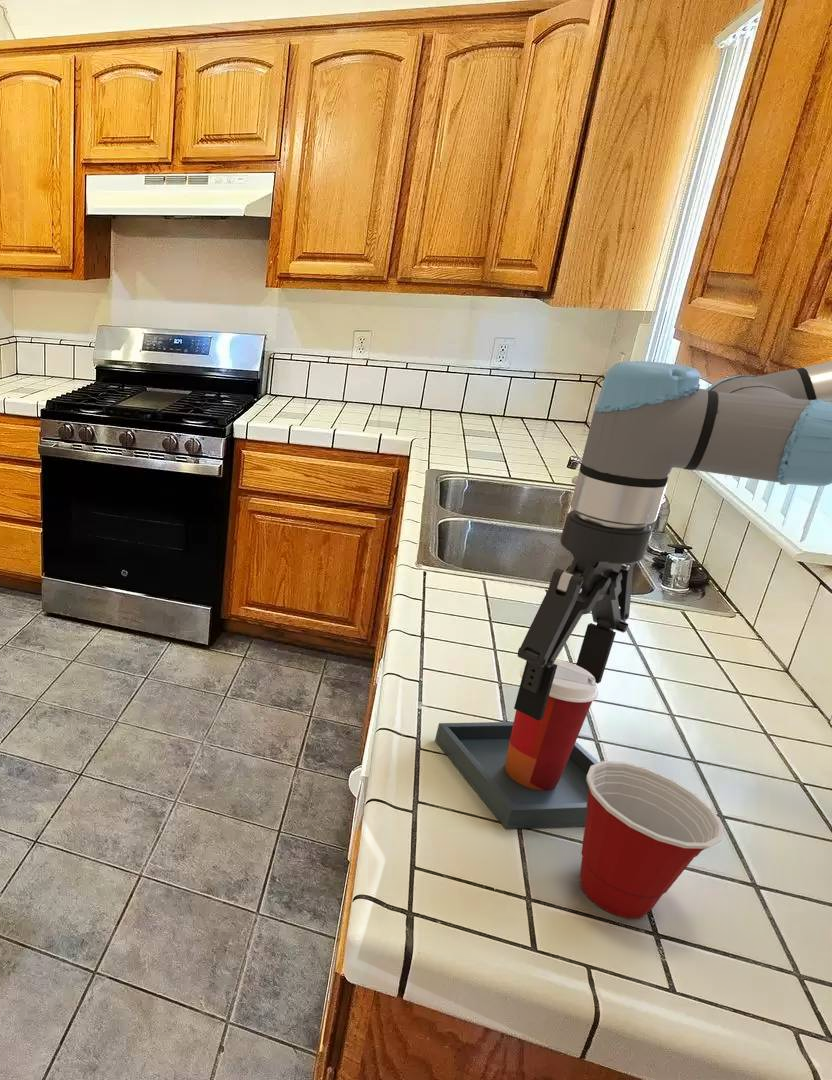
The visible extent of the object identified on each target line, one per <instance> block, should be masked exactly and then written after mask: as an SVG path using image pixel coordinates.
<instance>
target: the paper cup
mask: <svg viewBox="0 0 832 1080" xmlns="http://www.w3.org/2000/svg"><path fill="white" fill-rule="evenodd" d="M554 664H555V665H557V669H556V672H555V676H554V680H553V683H552V687H551V690H550V694H549V697H548V701H547V704H546V708H545V711H544V715H543V719H541V720H539V721H538V720H536V719H534V718H532V717H530V716H528V715H526V714H524V713H522V712H520V711H518V710H516V709H515V713H514V714H515V715H514V718H513V722H514V723H513V728H512V733H511V737H510V742H509V747H508V752H507V758H506V764H505V770H506V772H507V774H508V775H509V776H510V777H511V778H512V779H513V780H515V781H516V782H518V783H519V784H521V785H523V786H525V787H528V788H531V789H535V790H541V791H547V790H552V789H554V788H555V787H556V786H557V784H558V782H559V780H560V777H561V775H562V773H563V771H564V768H565V766H566V764H567V761H568V759H569V756H570V754H571V752H572V749H573V747H574V745H575V742H577V740H578V737H579V735H580V732H581V730H582V727H583V725H584V723H585V720H586V718H587V715H588V713H589V710H590V709H591V706H592V704H593V701H595V700H597V699H598V698H599V695H600V694H599V689H598V687H597V683H595V681H596V680H595V677H594V676H593V675H592V674H591V673H589V672H588V671H587V670H585V669H583V668H581V667H580V666H577V665H576V663H572V662H570V661H567V660H563V659H558V658H556V660H555V662H554ZM524 669H525V666H524V667H522V668H521V669H519V677H520V678H521V679H522V676H523V672H524Z"/></svg>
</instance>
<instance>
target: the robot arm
mask: <svg viewBox="0 0 832 1080" xmlns="http://www.w3.org/2000/svg"><path fill="white" fill-rule="evenodd" d="M700 376H701V374H700V371H699V370H698V369H697V368H694V367H691V366H687V365H681V364H676V363H667V362H660V361H659V362H658V361H647V360H646V361H645V360H644V361H643V360H627V361H626V360H624V361H620V362H617V363H615V364H613V365H612V366H611V367H610V368H608V370H607V371H606V373H605V376H604V379H603V382H602V385H601V387H600V392H599V393H598V398H597V401H596V404H595V405H594V409H593V414H592V418H591V421H590V425H589V429H588V434H587V437H586V442H585V446H584V449H583V454H582V457H581V461H580V466H579V470H578V472H577V473H578V474H577V475H574V476H573V477H572V479H571V483H572V484H573V485H574V489H573V493H572V496H571V500H570V507H571V508H572V510H571V511H569V512H568V513H567V514H566V516H565V521H564V524H563V528H562V532H561V535H560V541H559V542H560V545H561V546H562V548H563V549H565V551H568V552H569V553H570V554H571V555H572V557H573V560H572V561H571V564H570V565H569V566H568V567H567V569H566V570H565V569H564V570H563V569H560V568H556V569H554V571H553V572H552V575H551V578H550V582H549V585H548V588H547V590H546V592H545V595H544V597H543V599H542V601H541V603H540V606H539V608H538V610H537V612H536V614H535V616H534V618H533V620H532V622H531V624H530V627H529V628H528V631H527V632H526V635H525V637H524V639H523V641H522V643H521V645H520V647H518V650H517V657H518V658H520V659H522V660H524V661H526V662H525V664H524V667H525V669H524V672H523V676H522V678H521V681H520V684H519V688H518V692H517V695H516V698H515V699H516V700H515V703H514V706H513V709H514V710H515V711H516V710H518V711H520V712H522V713H524V714H526V715H528V716H530V717H532V718H534V719H536V720H538V721H539V720H541V719H543V715H544V711H545V708H546V704H547V701H548V697H549V694H550V690H551V687H552V683H553V680H554V676H555V672H556V669H557V665H555V664H554V662H555V660H556V659H558V657H559V655H560V653H561V652H562V650H563V648H564V646H565V645H566V643H567V642H568V640H569V638H570V637H571V635H572V633H573V632H574V630H575V628H576V626H577V625H578V623H579V622H580V620H581V618H582V616H585V615H589V614H590V613H591V616H592V621H593V623H592V622H590V623H588V624H587V626H586V630H585V633H584V636H583V640H582V643H581V645H580V646H581V647H580V650H579V654H578V657H577V660H576V663H575V665H577V666H580V667H581V668H583V669H585V670H587V671H588V672H589V673H591V674H592V675H593V676H594V677H595V680H596V681H595V683H596V685H597V684H601V682H602V679H603V676H604V673H605V669H606V666H607V663H608V660H609V656H610V653H611V650H612V647H613V643H614V640H615V637H616V634H617V632H620V633H623V634H625V633H626V632H627V630H628V627H629V623H627V620H628V619H629V618H630V611H631V610H630V609H631V600H632V599H631V598H632V586H633V575H634V574H633V573H634V567H635V564H637V563H639V562H641V561H642V560H643V559H644V558H645V555H646V552H647V548H648V545H649V542H650V539H651V537H652V533H653V529H652V528H651V525H650V524H653V523H654V522H656V521H657V518H658V515H659V512H660V508H661V505H662V501H663V498H664V494H665V492H666V488H667V485H668V481H669V477H670V474H671V472H672V469H673V468H676V469H682V470H687V471H697V472H698V471H699V472H705V473H711V474H717V475H726V476H731V477H732V476H733V477H739V478H744V479H745V478H747V479H753V480H758V481H766V482H772V483H778V484H779V485H782V486H787V485H797V486H798V485H799V486H810V487H826V486H829V485H831V484H832V360H829V361H824V362H819V363H814V364H811V365H810V364H809V365H806V366H802V367H798V368H793V369H787V370H782V371H777V372H773V373H768V374H762V375H759V376H757V375H755V374H753V375H751V374H741V375H732V376H728V377H725V378H722V379H720V380H718V381H716V382H714V383H713V384H711V385H709V386H708V387H707V388H700V386H701V385H700V383H699V382H700V378H701V377H700ZM595 623H596V624H595ZM614 630H615V631H614ZM616 631H617V632H616Z"/></svg>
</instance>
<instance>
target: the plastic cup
mask: <svg viewBox="0 0 832 1080" xmlns="http://www.w3.org/2000/svg"><path fill="white" fill-rule="evenodd" d="M586 781H587V783H588V786H589V787H588V789H589V791H588V802H587V815H586V823H585V826H584V830H583V836H582V837H583V838H582V846H581V863H580V864H581V865H580V870H579V879H580V881H579V882H580V886H581V889H582V891H583V892H584V894H585V895H586V896H587V897H588V899H589V900H590V901H591V902H592V903H594V904H595V905H597V906H598V907H599V908H601V910H604V911H607V912H609V913H610V914H612V915H614V916H618V917H622V918H625V919H640V918H643V917H644V916H646V915H647V914H648V913H649V912H651V911H652V909H653V908H654V907H655V906H656V904H657V903H658V901H659V900H660V899H661V897H662V896H663V895H664V894H666V893H667V892H668V891H669V889H670V888H671V887H672V886H673V884H674V883H675V882H676V881H677V880H678V878H679V877H680V875H682V873H683V872H684V871H685V869H686V868H687V867H688V866H689V865H690V863H691V862H692V861H693V860H694V859H695V858H696V857H697V856H699V855H700V853H702V851H704V850H707V849H709V848H712V846H714V845H717V844H718V843H720V842H722V841H723V839H724V830H725V826H724V825H723V823H722V822H721V820H720V818H719V816H718V815H717V813H716V811H715V810H714V809H713V808H712V807H711V806H710V805H708V804H707V803H706V802H705V801H704V800H703V799H702V798H701V797H700V796H699V795H697V793H695V792H693V791H692V790H690V789H688V788H687V787H685V786H684V785H682V784H680V783H679V782H677V781H676V780H674V779H673V778H671V777H668V776H666V775H663V774H661V773H659V772H657V771H655V770H652V769H650V768H648V767H644V766H640V765H638V764H633V763H630V762H626V761H615V760H614V761H613V760H601V761H599V763H597V764H594V765H592V766H591V767H590V769H589V772H588V774H587V779H586Z"/></svg>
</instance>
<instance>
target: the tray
mask: <svg viewBox="0 0 832 1080" xmlns="http://www.w3.org/2000/svg"><path fill="white" fill-rule="evenodd" d="M513 723H514V721H491V722H490V721H489V722H488V721H487V722H486V721H485V722H483V721H481V722H439V723H438V726H437V730H436V734H435V738H434V741H435V742H436V744H437V745H438V746H439V747H440V749H441V750H442V752H444V754H445V755H446V756H447V757H448V759H449V760H450V761H451V762H452V764H453V765H454V766H455V767H456V769H457V770H458V771H459V773H461V775H462V776H463V778H464V779H465V780H466V781H467V783H468V784H469V785H470V786H471V787H472V789H473V790H474V791H475V793H476V794H477V795H478V797H479V798H480V799H481V800H482V801H483V802H484V804H485V805H486V806H487V808H488V809H489V810H490V811H491V813H492V814H493V815H494V816H495V818H496V819H497V820H498V822H499V823H500V824H501V825H502V826H503V828H504V829H505V830H515V829H517V830H518V829H519V830H521V829H542V828H543V829H547V828H548V829H549V828H576V827H577V828H578V827H585V823H586V815H587V802H588V791H589V789H588V787H589V786H588V783H587V781H586V779H587V774H588V772H589V769H590V767H591V766H592V765H594V764H597V763H600V761H598V760H597V759H596V758H595V757H594V756H593V755H592V754H591V753H589V752H588V750H587V749H585V748H584V747H583V746H582V745H581V744H580V743H578V741H576V742H575V745H574V747H573V749H572V752H571V754H570V756H569V759H568V761H567V764H566V766H565V768H564V771H563V773H562V775H561V777H560V780H559V782H558V784H557V786H556V787H555V788H554V789H552V790H547V791H541V790H535V789H531V788H528V787H525V786H523V785H521V784H519V783H518V782H516V781H515V780H513V779H512V778H511V777H510V776H509V775H508V774H507V772H506V770H505V764H506V758H507V752H508V747H509V742H510V737H511V733H512V728H513Z"/></svg>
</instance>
